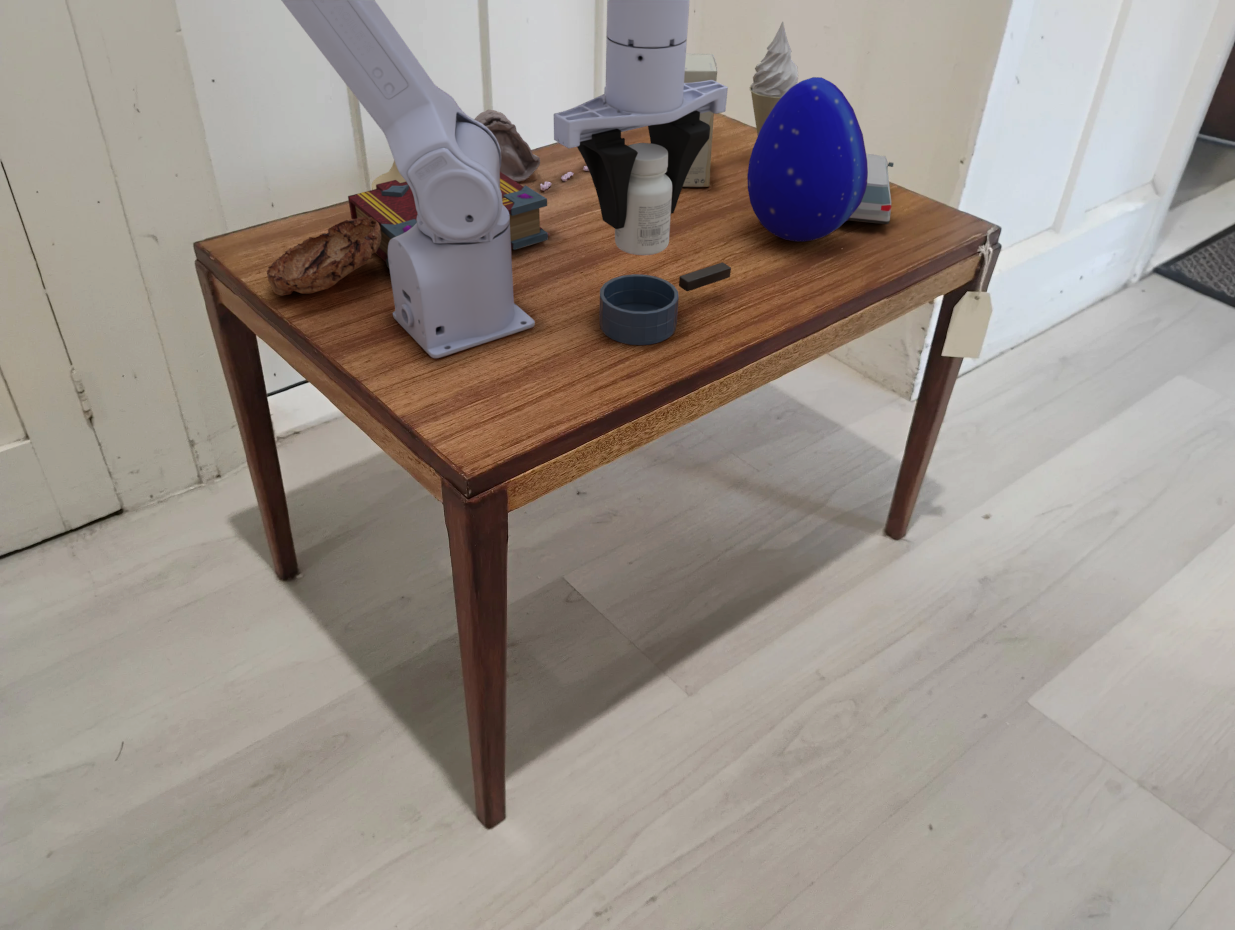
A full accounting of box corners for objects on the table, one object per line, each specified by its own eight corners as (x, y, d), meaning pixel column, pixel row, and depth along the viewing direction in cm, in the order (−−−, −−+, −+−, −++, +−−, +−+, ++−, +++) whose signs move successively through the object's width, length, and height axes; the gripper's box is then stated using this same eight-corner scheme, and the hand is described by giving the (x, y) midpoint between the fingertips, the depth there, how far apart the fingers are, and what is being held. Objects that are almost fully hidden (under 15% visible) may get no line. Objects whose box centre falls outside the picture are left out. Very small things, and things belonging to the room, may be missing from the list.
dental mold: (455, 127, 98) (445, 120, 102) (472, 194, 101) (461, 184, 105) (529, 108, 100) (516, 102, 104) (543, 174, 103) (530, 165, 107)
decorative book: (351, 238, 92) (343, 188, 89) (497, 198, 99) (494, 151, 96) (406, 287, 85) (399, 234, 82) (558, 240, 92) (557, 190, 89)
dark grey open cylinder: (628, 353, 78) (629, 321, 76) (584, 318, 82) (584, 286, 80) (691, 330, 81) (694, 299, 79) (646, 297, 85) (647, 267, 83)
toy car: (884, 179, 105) (894, 135, 102) (889, 236, 96) (901, 189, 92) (831, 174, 106) (839, 130, 102) (831, 230, 96) (840, 183, 93)
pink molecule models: (506, 212, 97) (506, 207, 97) (492, 204, 98) (492, 198, 98) (601, 168, 107) (602, 163, 106) (588, 161, 107) (588, 156, 107)
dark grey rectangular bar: (686, 292, 82) (687, 281, 81) (678, 286, 82) (679, 275, 82) (730, 277, 84) (731, 267, 83) (721, 272, 85) (722, 261, 84)
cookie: (373, 204, 87) (389, 234, 89) (266, 254, 87) (284, 283, 88) (376, 233, 79) (394, 265, 80) (258, 288, 78) (278, 319, 80)
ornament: (867, 240, 94) (900, 83, 84) (810, 270, 89) (838, 107, 79) (779, 203, 100) (800, 53, 90) (721, 229, 95) (736, 73, 85)
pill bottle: (678, 241, 78) (684, 148, 73) (651, 262, 75) (655, 167, 70) (632, 227, 80) (635, 135, 75) (604, 247, 77) (605, 153, 72)
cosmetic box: (709, 189, 103) (719, 71, 95) (667, 187, 103) (674, 70, 95) (705, 165, 108) (715, 52, 100) (666, 164, 108) (672, 51, 100)
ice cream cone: (784, 172, 107) (805, 29, 97) (739, 168, 107) (754, 25, 98) (787, 155, 111) (807, 16, 101) (743, 151, 111) (759, 12, 102)
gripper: (692, 9, 74) (680, 179, 82) (529, 37, 67) (534, 218, 76) (752, 32, 69) (733, 209, 78) (584, 64, 63) (584, 254, 71)
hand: (639, 216), depth 77 cm, fingers closed on pill bottle, 4 cm apart
